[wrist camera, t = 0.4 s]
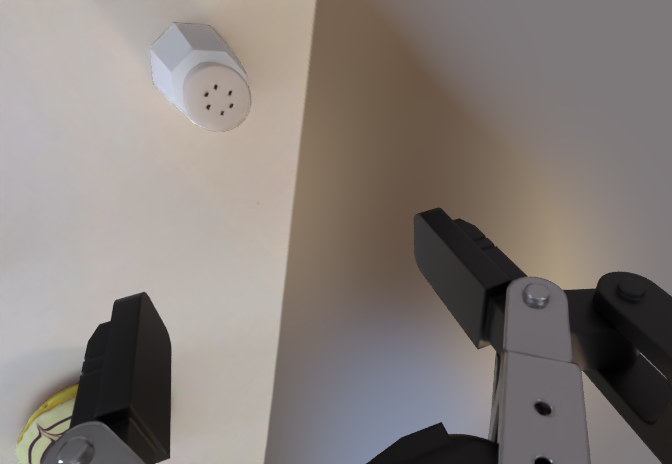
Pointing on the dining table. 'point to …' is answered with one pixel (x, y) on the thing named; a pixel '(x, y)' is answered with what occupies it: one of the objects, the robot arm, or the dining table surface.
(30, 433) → the decorated donut
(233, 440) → the dining table surface
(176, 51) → the salt shaker
